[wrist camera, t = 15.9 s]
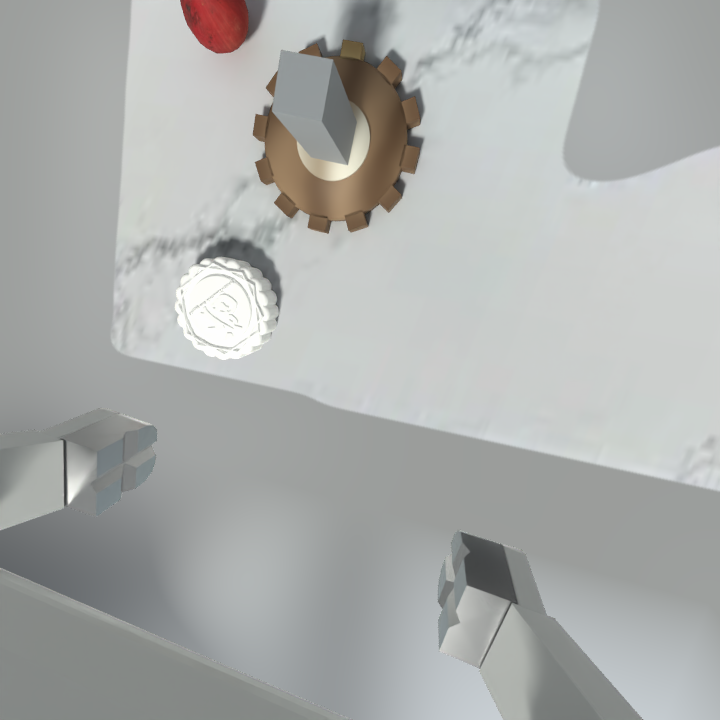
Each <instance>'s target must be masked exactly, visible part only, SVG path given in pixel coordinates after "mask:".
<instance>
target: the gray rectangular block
mask: <svg viewBox="0 0 720 720" xmlns="http://www.w3.org/2000/svg"><path fill="white" fill-rule="evenodd" d="M272 112H273V113H274V114H275V116H276V117H277V118H278V119H279V120H280V121H281V123H282V124H283V125H284V126H285V127H286V128H287V130H288V131H289V132H290V133H291V134H292V136H293V137H294V138H295V139H296V140H297V141H298V143H299V144H300V145H301V146H302V147H303V148H304V150H305V151H306V152H307V153H308V154H309V156H310V157H311V158H316V159H320V160H325V161H330V162H334V163H339V164H344V165H348V163H349V158H350V153H351V148H352V144H353V139H354V134H355V129H356V124H357V121H356V118H355V116H354V113H353V110H352V108H351V105H350V103H349V100H348V97H347V95H346V92H345V89H344V87H343V84H342V81H341V79H340V76H339V74H338V71H337V68H336V66H335V63H334V60H333V59H328V58H322V57H317V56H312V55H306V54H301V53H295V52H290V51H284V50H281V54H280V60H279V67H278V74H277V80H276V87H275V93H274V100H273V107H272Z"/></svg>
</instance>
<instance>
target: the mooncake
mask: <svg viewBox="0 0 720 720" xmlns="http://www.w3.org/2000/svg"><path fill="white" fill-rule="evenodd" d="M271 288H272V286H271V283H270V281H269V280H268V279H266V278H263V274H262V272H261V271H260V270H259V269H258V268H253V267H251V265H250V264H249V263H248V262H246V261H240V260H235V259H233V258H227V257H216V258H215V259H211V258H205V259H203V260H202V261H201V262H200V264H194V265H192V266H191V267H190V269H189V273H186V274H184V275H183V276H182V278H181V286H179V287H178V288H177V290H176V296H177V298H178V300H177V301H176V303H175V309H176V311H177V313H178V314H179V315H178V323H179V325H180V326H181V327H183V328H184V330H183V331H184V335H185V337H186V338H187V339H189V340H192V343H193V345H194V347H195V348H197V349H199V350H204V352H205V354H206V355H208V356H210V357H214V356H217V357H218V358H219V359H222V360H226V359H229V358H233V359H239V358H241V357H244V356H246V355H248V354H250V353H253V352H255V351H257V350H260V349H261V348H262V346H263V343H266V342H268V341H269V340H270V339H271V336H272V334H271V332H272V331H274V330H275V329H276V327H277V321H276V318H277V317H278V314H279V309H278V307H277V306H276V305H275V304H276V302H277V296H276V294H275V293H274V292H273V291H272V290H271Z"/></svg>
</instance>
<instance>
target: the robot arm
mask: <svg viewBox="0 0 720 720" xmlns="http://www.w3.org/2000/svg"><path fill="white" fill-rule="evenodd" d="M156 441H157V429H156V428H155V427H154V426H153V425H151V424H149V423H146V422H143V421H140V420H137V419H135V418H132V417H130V416H127V415H124V414H120V413H118V412H116V411H113V410H110V409H106V408H98V409H96V410H93V411H91V412H89V413H86V414H84V415H81V416H78V417H76V418H73V419H71V420H68V421H66V422H63V423H61V424H58V425H55V426H53V427H51V428H48V429H46V430H43V431H40V432H39V431H36V430H29V431H21V432H12V433H3V434H0V530H2V529H5V528H8V527H11V526H14V525H17V524H19V523H22V522H25V521H28V520H31V519H34V518H37V517H40V516H43V515H45V514H48V513H51V512H54V511H57V510H60V509H63V508H64V506H66V507H69V508H71V509H74V510H77V511H80V512H83V513H86V514H89V515H91V516H94V517H96V516H98V515H100V514H101V513H102V512H103V511H105V510H107V509H108V508H109V507H110V506H112V505H114V504H115V503H116V502H118V501H119V500H120V499H121V496H122V492H125V491H129V490H132V489H136V488H137V487H138V486H140V485H141V484H142V483H143V482H144V481H145V480H146V479H147V478H148V476H149V475H150V474H151V472H152V470H153V467H154V464H155V459H156V454H155V452H154V450H153V448H152V445H153V444H154V443H155V442H156ZM451 551H452V554H451V555H449V556H447V557H445V560H444V563H443V566H442V569H441V573H440V577H439V584H438V602H439V604H440V606H441V607H442V609H443V610H442V612H441V614H440V617H439V620H438V628H439V629H438V630H439V652H442V653H444V654H447V655H449V656H451V657H454V658H456V659H458V660H461V661H463V662H466V663H468V664H470V665H472V666H475V667H477V668H479V669H480V670H479V671H480V674H481V675H482V677H483V679H484V682H485V684H486V686H487V688H488V690H489V692H490V694H491V696H492V698H493V700H494V702H495V704H496V706H497V708H498V710H499V712H500V714H501V716H502V718H503V720H643V719H642V718H641V717H640V716H639V714H638V713H637V712H636V711H635V710H634V709H633V708H632V707H631V705H630V704H629V703H628V702H627V701H626V700H625V698H624V697H623V696H622V695H621V694H620V693H619V692H618V690H617V689H616V688H615V687H614V686H613V685H612V684H611V682H610V681H609V680H608V679H607V678H606V677H605V676H604V674H603V673H602V672H601V671H600V670H599V669H598V668H597V666H596V665H595V664H594V663H593V662H592V661H591V660H590V658H589V657H588V656H587V655H586V654H585V653H584V652H583V651H582V649H581V648H580V647H579V646H578V645H577V644H576V643H575V641H574V640H573V639H572V638H571V637H570V636H569V635H568V633H567V632H566V631H565V630H564V629H563V628H562V626H561V625H560V624H559V623H558V622H557V621H556V620H555V618H552V617H550V616H547V614H546V611H545V608H544V606H543V603H542V600H541V597H540V594H539V591H538V588H537V585H536V582H535V580H534V577H533V574H532V571H531V568H530V565H529V562H528V560H527V557H526V554H525V553H524V552H523V550H520V549H517V548H514V547H511V546H507V545H504V544H501V543H500V544H499V543H496V542H493V541H489V540H487V539H484V538H481V537H478V536H475V535H472V534H469V533H466V532H463V531H460V530H457V531H456V533H455V534H454V537H453V540H452V542H451ZM0 720H352V719H350V718H347V717H345V716H342V715H340V714H338V713H335V712H333V711H331V710H328V709H326V708H324V707H321V706H319V705H317V704H315V703H312V702H310V701H307V700H305V699H303V698H301V697H298V696H296V695H294V694H291V693H289V692H287V691H284V690H282V689H280V688H277V687H275V686H273V685H270V684H268V683H266V682H263V681H261V680H259V679H256V678H254V677H252V676H249V675H247V674H245V673H242V672H240V671H238V670H235V669H233V668H231V667H228V666H226V665H224V664H221V663H219V662H217V661H215V660H212V659H210V658H207V657H205V656H203V655H201V654H198V653H196V652H194V651H191V650H189V649H186V648H184V647H182V646H180V645H177V644H175V643H173V642H171V641H168V640H166V639H163V638H161V637H159V636H157V635H154V634H152V633H150V632H148V631H145V630H143V629H141V628H138V627H136V626H134V625H131V624H129V623H127V622H124V621H122V620H120V619H117V618H115V617H113V616H111V615H108V614H106V613H104V612H101V611H99V610H97V609H94V608H92V607H90V606H87V605H85V604H83V603H80V602H78V601H76V600H73V599H71V598H69V597H66V596H64V595H62V594H60V593H57V592H55V591H53V590H50V589H48V588H46V587H43V586H41V585H39V584H36V583H34V582H32V581H30V580H27V579H25V578H23V577H20V576H18V575H15V574H13V573H11V572H9V571H6V570H4V569H2V568H0Z"/></svg>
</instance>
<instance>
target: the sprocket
mask: <svg viewBox="0 0 720 720" xmlns="http://www.w3.org/2000/svg"><path fill="white" fill-rule="evenodd" d="M299 53H301V54H306V55H312V56H317V57H322V54H321V52H320V49H319V47H318V44H317V43H316V44H314V45H312V46H310V47H308V48H306V49H304V50H302V51H300V52H299ZM364 57H365V50H364V45H363V43H360V42H354V41H349V40H343V43H342V48H341V54H340V56H330V57H325V58H328V59H333V60H334V63H335V66H336V68H337V71H338V74H339V76H340V79H341V81H342V84H343V87H344V89H345V92H346V95H347V97H348V100H349V103H350V105H351V108H352V110H353V113H354V116H355V118H356V121H357V124H356V129H355V134H354V139H353V144H352V148H351V153H350V158H349V163H348V165H344V164H339V163H334V162H330V161H325V160H320V159H316V158H311V157H310V156H309V154H308V153H307V152H306V151H305V150H304V148H303V147H302V146H301V145H300V144H299V143H298V141H297V140H296V139H295V138H294V137H293V136H292V134H291V133H290V132H289V131H288V130H287V128H286V127H285V126H284V125H283V124H282V123H281V121H280V120H279V119H278V118H277V117H276V116H275V114H274V113H273V112H272V107H273V104H272V106H271V109H270V112H269V115H268V116H263V115H258V114H256V116H255V123H254V130H253V136H254V137H256V138H257V139H258V140H259V141H263V142H265V152H266V158H264V159H261V160H259V161H257V162H255V164H256V167H257V170H258V174H259V177H260V180H261V182H263V183H264V184H266V185H268V184H271V183H273V182H275V183H276V185H277V187H278V188H279V190H280V191H281V194H280V196H279V197H278V198H277V200H276V201H275V202H274V203H275V204H276V205H277V206H278V207H279V208H280V209H281V210H282V211H283V212H284V213H285V214H286V215H287V216H288V217H290V218H293V216H294V215H295V214H296V213H297V211H298V210H299V209H300V210H302V211H303V212H305V213H307V214H309V215H310V218H309V223H308V228H310V229H311V230H315V231H320V232H324V233H329V228H330V224H331V221H345V220H346V223H347V226H348V230H349V231H350V232H354V231H357V230H360V229H363V228H366V227H368V224H367V220H366V216H365V214H366V213H368V212H369V211H371V210H373V209H374V208H375V207H376V206H378V205H379V204H380V205H381V206H382V207H383V208H384V209H385V210H386V211H387V212H388V213H389V212H390V211H391V210H392V209H393V207H394V206H395V205H396V204H397V203H398V202H399V201H400V200H401V198H402V196H401V194H400V193H399V192H398V191H397V190H396V189H395V188H394V186H395V184H396V183H397V181H398V179H399V177H400V174H401V172H402V171H403V172H408V173H412V174H415V170H416V166H417V162H418V158H419V154H420V148H418V147H414V146H409V145H407V141H408V140H407V130H408V129H411V128H413V127H416V126H419V125H420V115H419V111H418V107H417V103H416V98H415V96H414V97H412V98H410V99H407V100H405V101H402V102H401V100H400V98H399V96H398V94H397V92H396V90H395V88H396V87H397V86H398V84H399V83H400V82H401V81H402V72H401V70H400V69H399V68H398V67H397V66H396V65H395V64H394V63H393V62H392V61H391V60H390V59H389V58H388V57H387V56H386V57H385V59H384V60H383V61H382V62H381V64H380V65H379V66H378V68H377V69H376V68H375V67H373V66H372V65H370V64H369V63H367V62H364ZM277 74H278V71H277V72H276V73H275V75H274V76H273V78H272V79H271V81H270V82H269V84H268V85H267V87H266V89H267V90H268V91H269V93H270V94H271V95H272V96H273V97H274V93H275V87H276V80H277Z"/></svg>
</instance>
